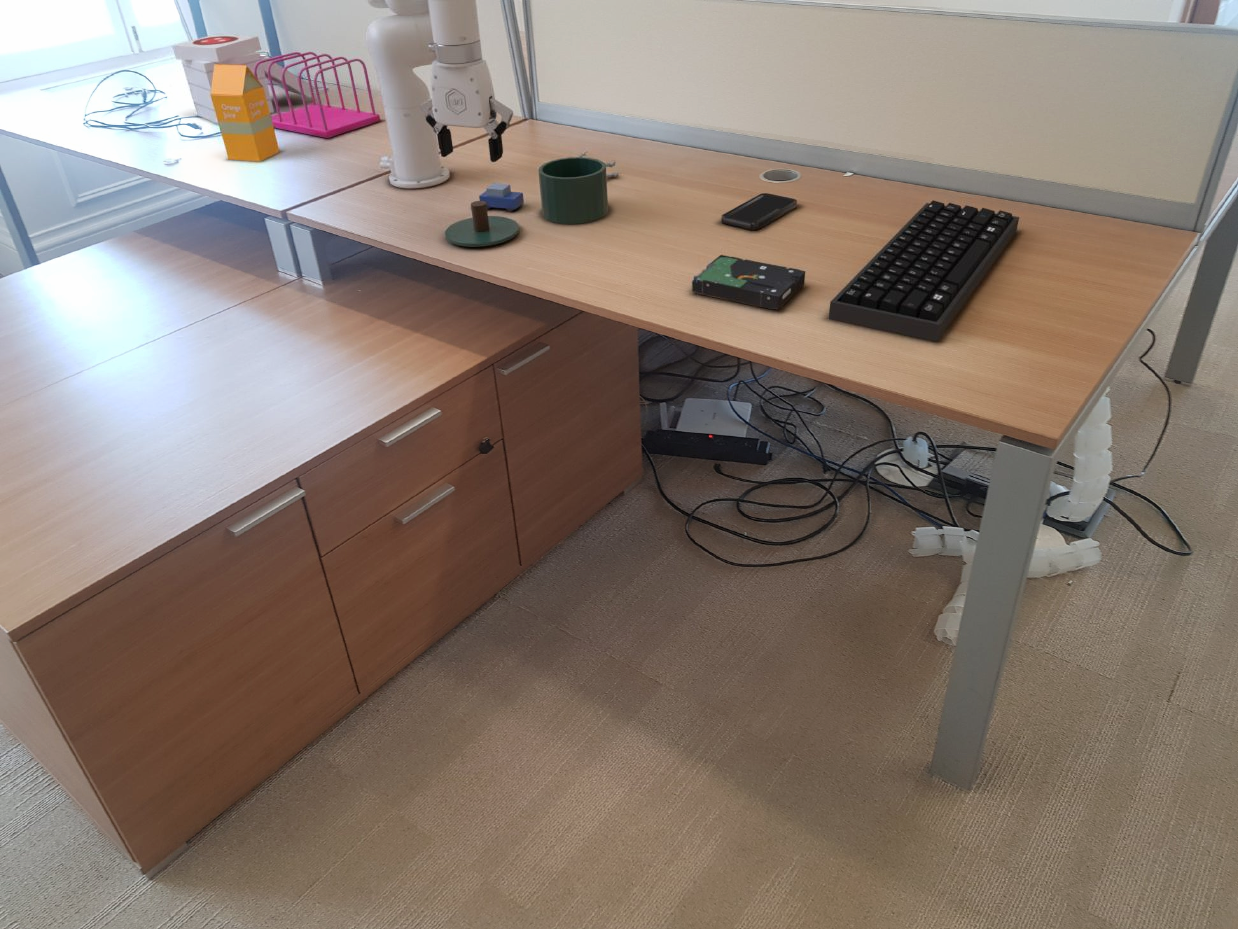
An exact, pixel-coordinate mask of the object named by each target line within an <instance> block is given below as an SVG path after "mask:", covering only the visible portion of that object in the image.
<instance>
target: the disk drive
mask: <svg viewBox="0 0 1238 929" xmlns="http://www.w3.org/2000/svg"><path fill="white" fill-rule="evenodd" d="M705 267H706V268H703V269H702V270H700V272H699V273H697V275H694V276H693V279H692V281H691V292H695V293H696V294H699V295H704V296H709V297H713V298H718V299H722V300H726V301H730V302H731V301H732V302H737V303H741V304H745V305H750V306H754V307H760V308H764V309H769V310H778V311H779V310H780V309H781V308H782V307H783V306H785V304H787V302H788V301H790V300H791V298H792V297H794V296H795V295H796V294H797V293H798V292H799V291H800V290H801V289H802V287H803V286H804V285H805V282H806V281H805V280H806V271H805V270H801V269H799V268H793V267H787V266H783V265H777V264H771V263H766V262H762V261H755V260H751V259H744V258H740V257H736V256H730V255H725V254H720V255H718V256H717V257H716V258H715V259H713V260H712V261H710V263H708V264H707V265H706V266H705Z"/></svg>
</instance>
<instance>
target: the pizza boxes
mask: <svg viewBox="0 0 1238 929" xmlns="http://www.w3.org/2000/svg"><path fill="white" fill-rule="evenodd" d="M171 46H172V50H173V53H174V57H175V59H176V60H180V61H181V66H182V68H183V72H184V74H185V78H186V81H187V85H188V88H189V92H190V95H191V99H192V103H193V106H194V108H195V113H196V115H197V116H198V117H200V118H203V119H205V120H207V121H210V122H213V123H215V124H217V125H218V120H217V117H216V113H215V110H214V106H213V103H212V99H211V96H210V94H211V87H212V79H213V71H214V64H237V65H247V67H248V68H249V69H250V70H251V72H252V73H253V74H254V67H255V65H256V63H257V62H258V61H261V60H265V59H268V58H269V57H265V56H262V55H261V54H260V52H258V51H261V50H262V47H261V46H262V45H261V42H260V39H259V36H258V35H240V34H224V33H223V34H222V33H214V34H211V35H206V36H203V37H199V38H196V39H195V38H194V39H192V40H189V41H188V40H187V41H184V42H181V43H177V44H173V45H171ZM272 61H273V60H271V61H267V62H263V63H261V64H259V65H258V67H257V71H256V72H257V77H258V81H259V82H260V83H261V84H262V86H263V88H264V92H265V96H266V99H267V103H268V107H269V111H270V114H273V113H275V109H274V106H273V102H272V98H271V93H270V90H269V85H268V82H267V80H268V81H269V78H268V73H267V69H268V66H269V64H270V63H271V62H272ZM284 68H285V67H283V66H282V65H279V64H278V63H274V64H273V65H272V66H271V68H270V75H271V79H272V83H273V85H275V86H278V87H279V88H281V89H282V90H284V91H285V89H284V85H283V81H282V71H283V69H284ZM285 82H286V86H287V89H288V92H291V93H293V94H297V95H299V96H302V95H301V91H300V87H299V82H298V75H296V74H295V73H293V72H291V71H290V70H288V69H287V70H286V71H285ZM301 83H302V88H303V91H304V96H305V98H309V99H312V95H311V91H310V86H309V82H307V81H306V80H304V79H302V78H301ZM312 88H313V92H314V91H315V86H314V85H312Z"/></svg>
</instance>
